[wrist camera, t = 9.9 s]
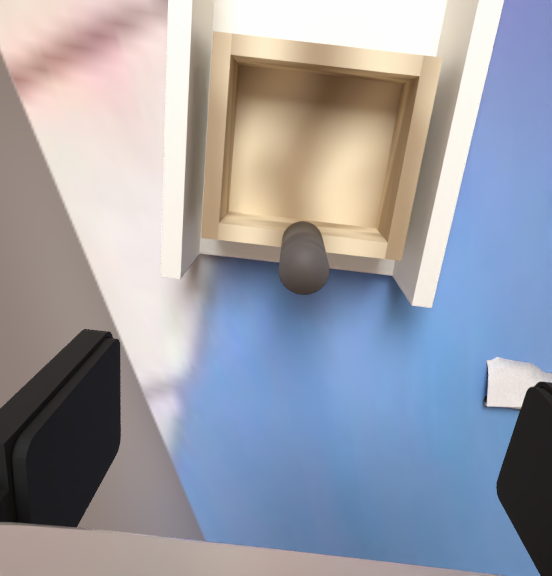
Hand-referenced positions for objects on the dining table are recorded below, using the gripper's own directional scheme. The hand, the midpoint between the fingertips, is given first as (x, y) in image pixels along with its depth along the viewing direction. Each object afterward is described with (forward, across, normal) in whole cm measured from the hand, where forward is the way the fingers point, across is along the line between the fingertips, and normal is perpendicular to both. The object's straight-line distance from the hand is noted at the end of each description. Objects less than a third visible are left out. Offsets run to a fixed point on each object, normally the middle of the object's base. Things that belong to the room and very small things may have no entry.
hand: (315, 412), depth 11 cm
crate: (+23, 0, -4) cm, 23 cm away
